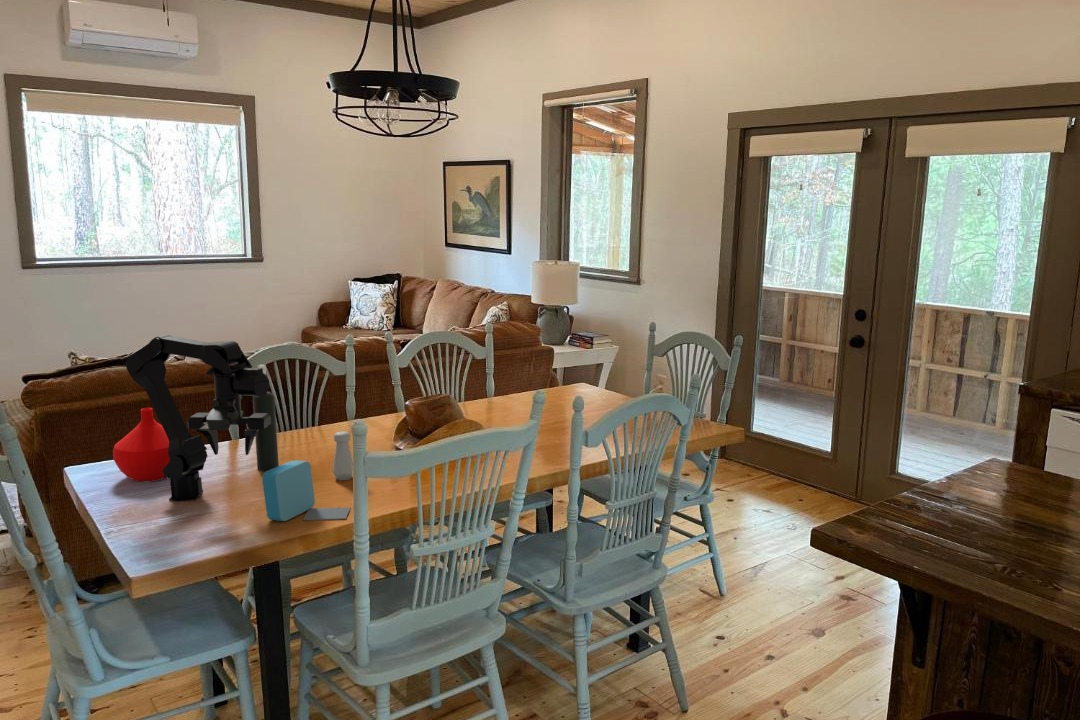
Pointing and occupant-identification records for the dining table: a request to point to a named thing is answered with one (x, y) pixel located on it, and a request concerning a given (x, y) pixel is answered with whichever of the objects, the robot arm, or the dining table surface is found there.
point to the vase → (143, 450)
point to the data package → (288, 490)
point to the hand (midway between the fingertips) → (231, 454)
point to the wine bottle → (266, 432)
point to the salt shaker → (342, 456)
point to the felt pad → (326, 513)
